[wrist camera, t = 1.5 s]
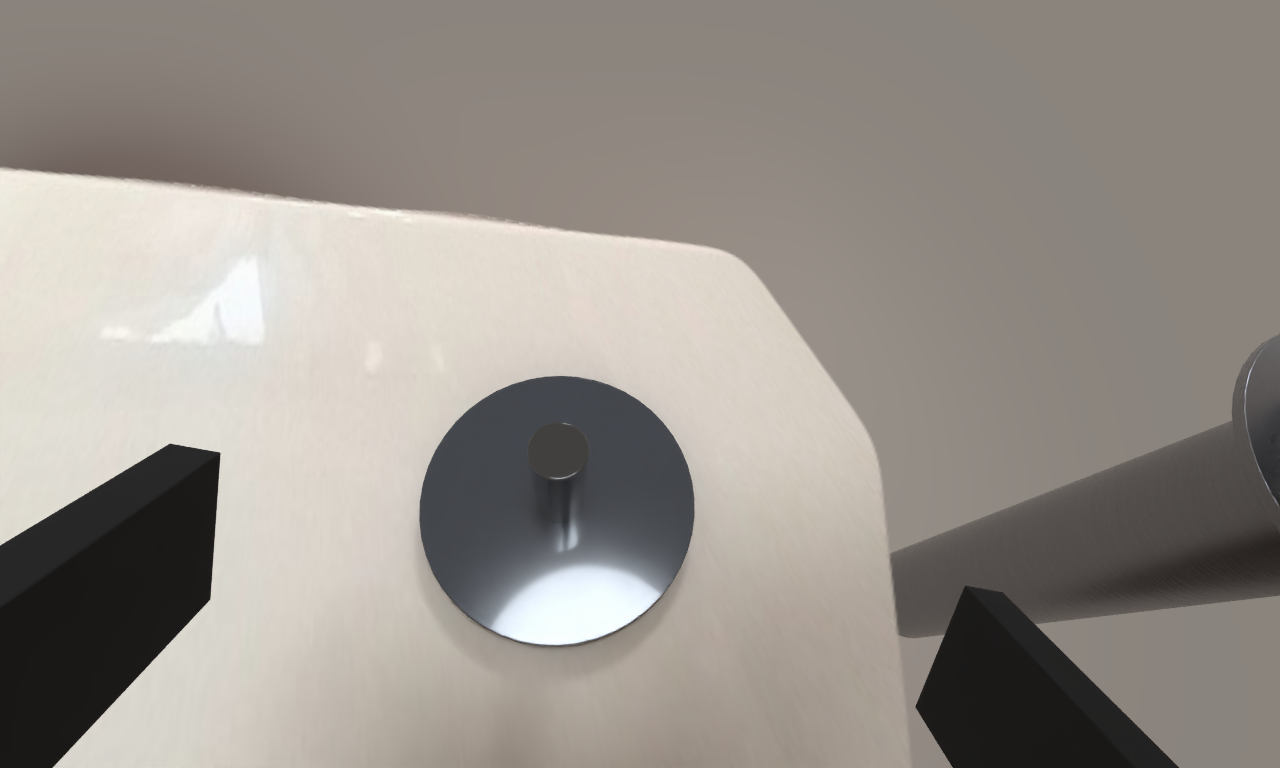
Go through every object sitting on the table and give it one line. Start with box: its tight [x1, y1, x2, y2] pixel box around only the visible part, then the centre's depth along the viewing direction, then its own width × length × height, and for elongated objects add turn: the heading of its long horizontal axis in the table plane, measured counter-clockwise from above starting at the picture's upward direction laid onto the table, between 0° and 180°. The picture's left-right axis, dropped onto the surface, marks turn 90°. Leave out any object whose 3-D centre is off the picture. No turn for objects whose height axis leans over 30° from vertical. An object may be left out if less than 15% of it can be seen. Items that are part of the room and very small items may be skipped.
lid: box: [419, 376, 694, 647], centre depth 32 cm, size 15×15×10 cm
